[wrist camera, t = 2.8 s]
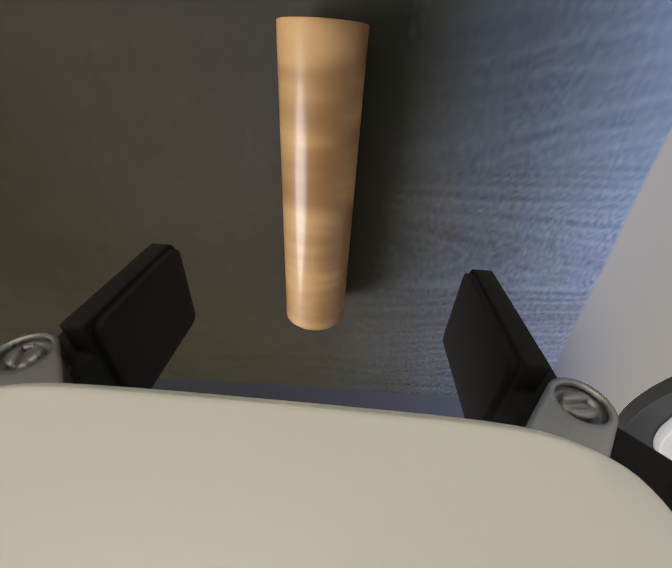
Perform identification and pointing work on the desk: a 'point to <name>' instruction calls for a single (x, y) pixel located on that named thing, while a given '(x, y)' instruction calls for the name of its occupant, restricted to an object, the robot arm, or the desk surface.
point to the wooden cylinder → (319, 158)
